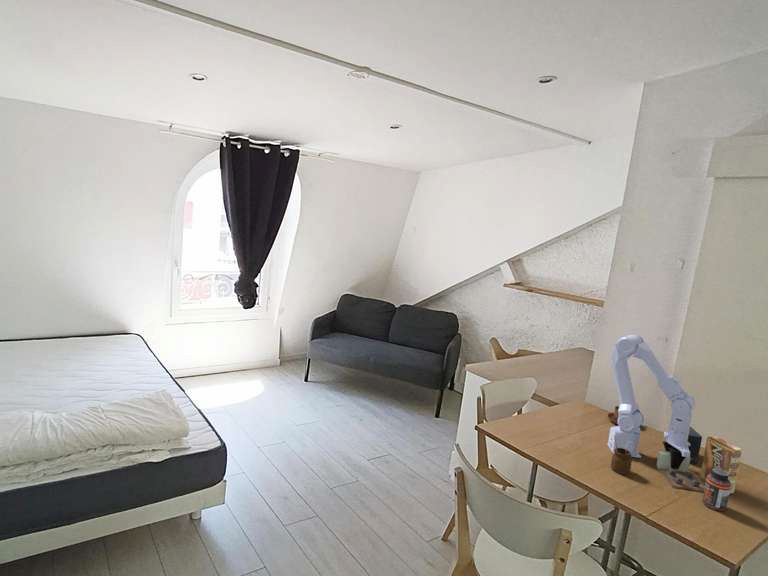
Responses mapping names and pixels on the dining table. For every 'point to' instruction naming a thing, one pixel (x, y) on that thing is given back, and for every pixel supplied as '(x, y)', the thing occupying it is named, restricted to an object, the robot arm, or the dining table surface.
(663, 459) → the door
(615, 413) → the cup and saucer
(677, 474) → the side panel
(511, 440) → the dining table surface
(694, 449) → the small box
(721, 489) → the supplement bottle
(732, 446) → the candy box
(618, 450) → the utensil holder
